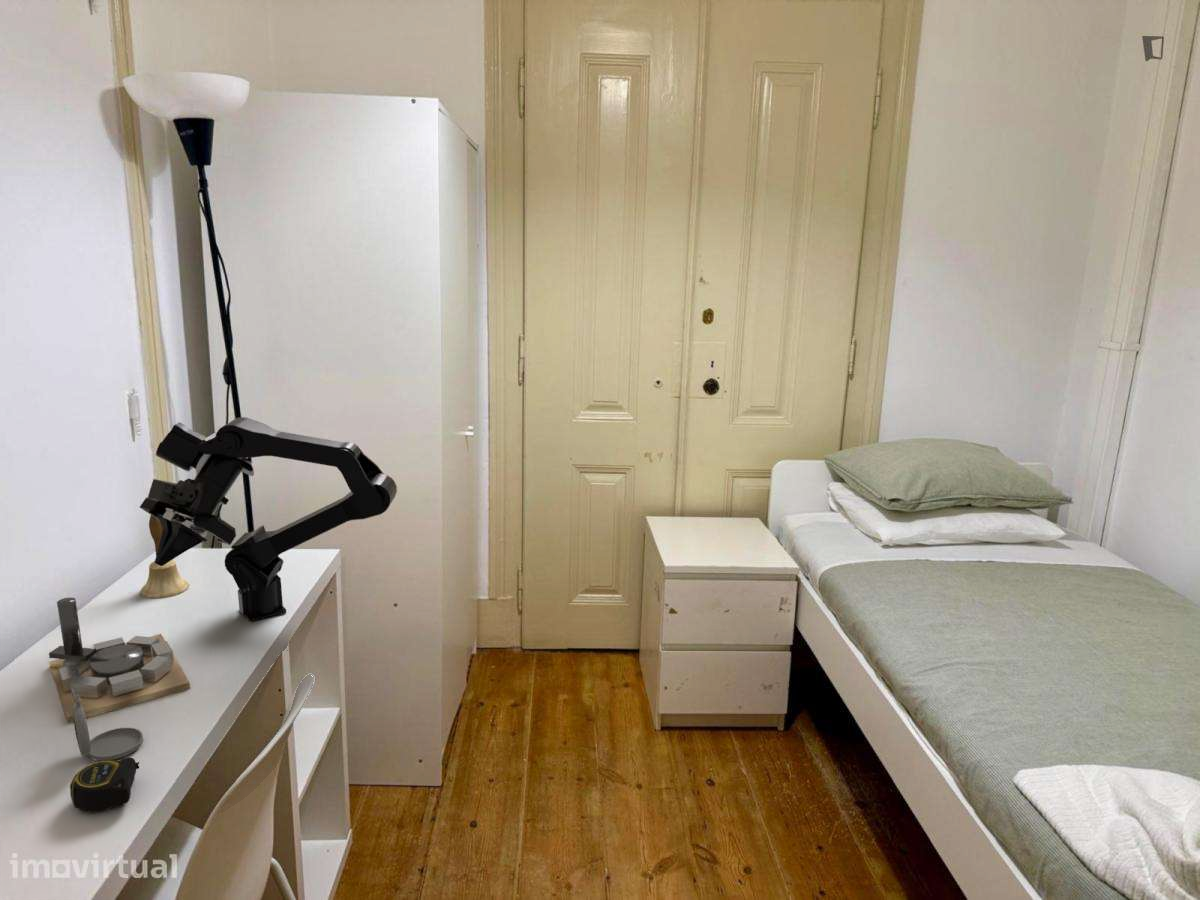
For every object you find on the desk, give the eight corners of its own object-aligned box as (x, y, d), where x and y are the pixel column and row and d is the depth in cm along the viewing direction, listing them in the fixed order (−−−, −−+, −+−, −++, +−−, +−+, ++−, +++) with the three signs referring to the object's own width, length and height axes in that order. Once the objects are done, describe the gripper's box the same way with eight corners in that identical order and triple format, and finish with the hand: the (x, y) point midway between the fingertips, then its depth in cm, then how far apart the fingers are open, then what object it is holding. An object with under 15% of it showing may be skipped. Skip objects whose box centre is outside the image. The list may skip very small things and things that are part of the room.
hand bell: (175, 599, 159) (166, 518, 154) (131, 597, 159) (121, 516, 154) (197, 581, 167) (189, 503, 162) (155, 579, 167) (145, 502, 162)
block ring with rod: (89, 643, 139) (80, 579, 136) (191, 651, 137) (184, 587, 134) (20, 691, 125) (8, 621, 122) (132, 701, 123) (123, 631, 120)
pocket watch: (154, 740, 117) (146, 674, 114) (101, 776, 109) (91, 706, 106) (109, 727, 119) (99, 662, 117) (54, 761, 112) (42, 693, 109)
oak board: (161, 639, 144) (160, 632, 143) (190, 688, 129) (189, 680, 129) (48, 667, 134) (47, 660, 134) (66, 723, 120) (64, 715, 119)
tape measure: (130, 812, 103) (127, 785, 102) (65, 823, 101) (61, 795, 100) (141, 778, 109) (138, 752, 108) (80, 787, 107) (76, 761, 106)
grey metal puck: (139, 657, 136) (137, 640, 135) (148, 675, 131) (146, 658, 130) (88, 670, 132) (86, 652, 131) (96, 690, 126) (94, 671, 126)
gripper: (144, 450, 145) (86, 530, 139) (213, 469, 135) (154, 555, 129) (191, 483, 153) (139, 560, 147) (259, 503, 144) (206, 586, 138)
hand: (157, 564), depth 140 cm, fingers closed
